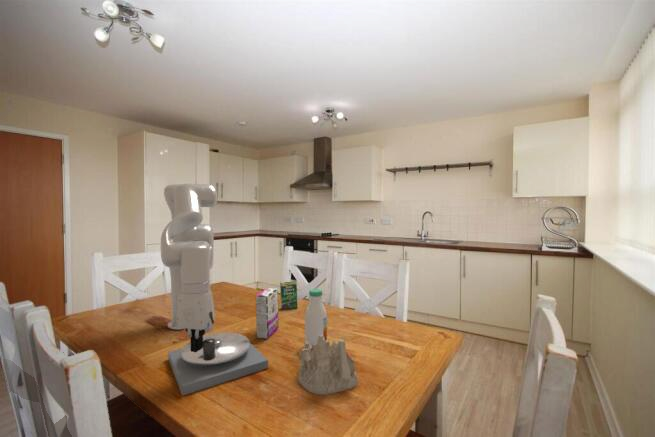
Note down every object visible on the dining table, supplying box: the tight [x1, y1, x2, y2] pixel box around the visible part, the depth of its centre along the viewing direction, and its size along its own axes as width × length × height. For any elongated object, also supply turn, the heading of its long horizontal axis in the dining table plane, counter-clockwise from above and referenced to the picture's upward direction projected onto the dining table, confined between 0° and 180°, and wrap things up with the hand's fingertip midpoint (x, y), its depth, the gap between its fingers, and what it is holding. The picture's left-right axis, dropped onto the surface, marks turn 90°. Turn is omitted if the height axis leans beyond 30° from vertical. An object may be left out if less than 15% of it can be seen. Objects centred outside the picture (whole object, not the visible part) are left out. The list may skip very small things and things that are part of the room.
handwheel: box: [181, 332, 250, 366], centre depth 96 cm, size 20×20×7 cm
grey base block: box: [167, 341, 269, 397], centre depth 96 cm, size 24×24×4 cm
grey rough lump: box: [297, 335, 359, 395], centre depth 88 cm, size 16×16×15 cm
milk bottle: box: [304, 288, 328, 347], centre depth 107 cm, size 8×8×20 cm
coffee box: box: [279, 280, 298, 311], centre depth 150 cm, size 8×3×13 cm, turn 103°
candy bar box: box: [255, 287, 279, 340], centre depth 119 cm, size 11×5×16 cm, turn 168°
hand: (196, 349), depth 88 cm, fingers closed
